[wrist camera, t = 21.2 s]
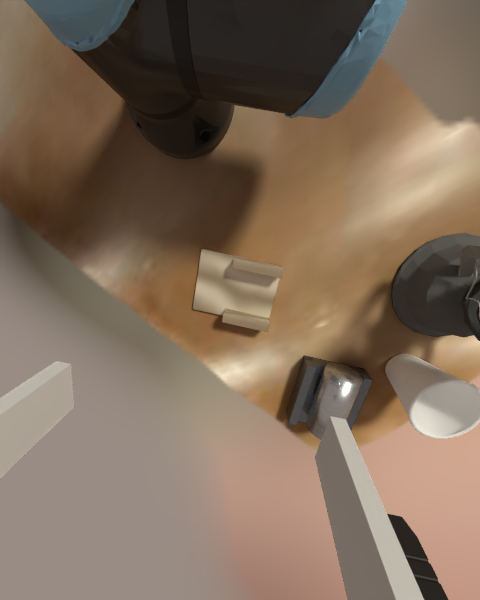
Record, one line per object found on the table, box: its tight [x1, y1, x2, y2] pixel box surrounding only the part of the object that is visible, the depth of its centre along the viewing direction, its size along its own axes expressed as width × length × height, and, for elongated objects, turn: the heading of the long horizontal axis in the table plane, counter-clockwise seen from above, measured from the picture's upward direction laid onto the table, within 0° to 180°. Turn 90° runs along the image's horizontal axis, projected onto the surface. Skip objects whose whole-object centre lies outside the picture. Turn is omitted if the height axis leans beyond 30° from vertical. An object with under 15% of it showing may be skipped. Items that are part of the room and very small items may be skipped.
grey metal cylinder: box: [306, 362, 363, 439], centre depth 41 cm, size 6×12×6 cm, turn 169°
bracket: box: [193, 249, 284, 332], centre depth 40 cm, size 11×14×4 cm
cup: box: [385, 353, 480, 439], centre depth 38 cm, size 10×10×11 cm
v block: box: [287, 356, 373, 430], centre depth 44 cm, size 13×12×4 cm
